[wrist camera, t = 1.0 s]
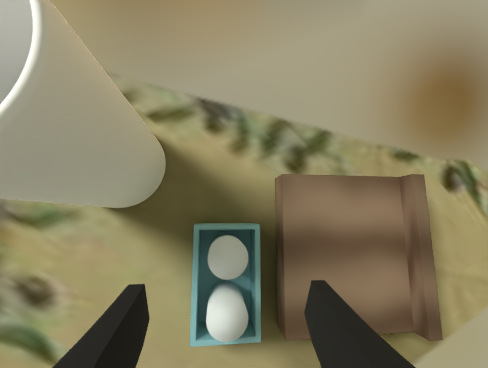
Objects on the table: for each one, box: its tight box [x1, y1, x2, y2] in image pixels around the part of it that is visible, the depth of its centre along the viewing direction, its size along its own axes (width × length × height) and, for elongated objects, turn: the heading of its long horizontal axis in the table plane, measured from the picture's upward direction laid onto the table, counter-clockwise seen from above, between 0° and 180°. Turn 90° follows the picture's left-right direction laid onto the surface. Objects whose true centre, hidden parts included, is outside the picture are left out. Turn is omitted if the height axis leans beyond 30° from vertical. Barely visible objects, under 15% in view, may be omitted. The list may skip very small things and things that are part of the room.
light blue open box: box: [190, 223, 261, 347], centre depth 19 cm, size 9×5×5 cm, turn 0°
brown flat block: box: [275, 174, 443, 341], centre depth 21 cm, size 14×13×4 cm
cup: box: [0, 0, 166, 208], centre depth 14 cm, size 8×8×16 cm
